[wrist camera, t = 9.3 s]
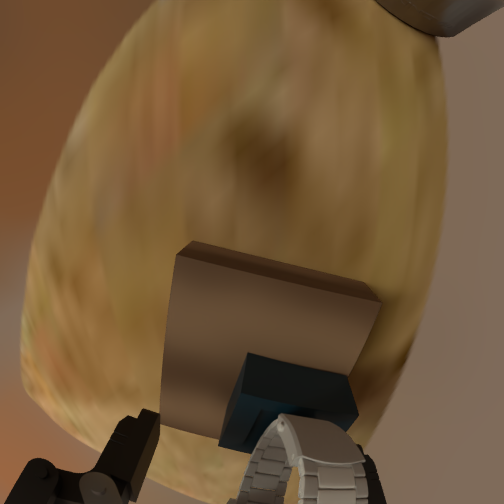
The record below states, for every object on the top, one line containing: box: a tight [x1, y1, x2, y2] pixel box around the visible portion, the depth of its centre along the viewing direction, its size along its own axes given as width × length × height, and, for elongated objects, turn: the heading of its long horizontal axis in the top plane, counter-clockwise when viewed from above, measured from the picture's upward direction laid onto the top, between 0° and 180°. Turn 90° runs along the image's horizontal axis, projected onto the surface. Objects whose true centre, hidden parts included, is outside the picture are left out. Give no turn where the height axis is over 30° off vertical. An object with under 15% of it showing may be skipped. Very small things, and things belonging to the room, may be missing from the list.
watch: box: [218, 352, 368, 504], centre depth 8 cm, size 6×8×11 cm
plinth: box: [159, 241, 382, 439], centre depth 15 cm, size 12×10×3 cm
